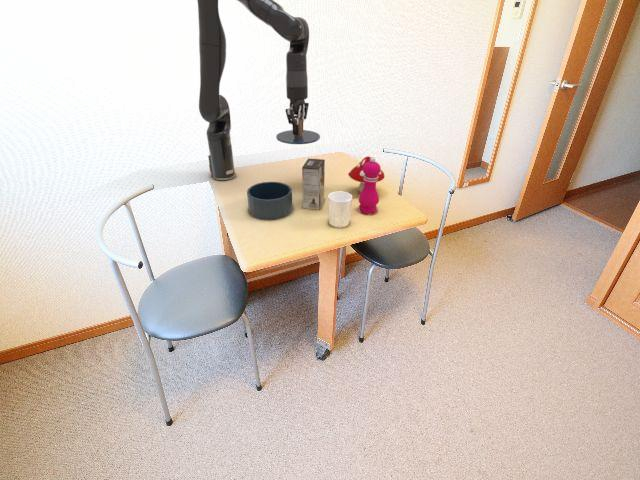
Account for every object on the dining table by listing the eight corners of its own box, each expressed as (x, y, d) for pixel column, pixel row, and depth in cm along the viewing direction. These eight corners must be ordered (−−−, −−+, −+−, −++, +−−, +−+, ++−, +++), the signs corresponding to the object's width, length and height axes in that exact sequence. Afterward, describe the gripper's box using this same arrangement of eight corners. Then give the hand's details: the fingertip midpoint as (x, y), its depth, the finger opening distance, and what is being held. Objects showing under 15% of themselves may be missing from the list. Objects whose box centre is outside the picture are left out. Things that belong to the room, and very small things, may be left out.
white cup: (343, 231, 117) (345, 203, 111) (323, 224, 120) (323, 197, 115) (354, 221, 122) (356, 194, 117) (334, 215, 126) (335, 189, 120)
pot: (254, 223, 120) (252, 203, 116) (245, 203, 133) (242, 185, 128) (298, 215, 125) (297, 196, 121) (284, 197, 138) (284, 179, 133)
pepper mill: (356, 206, 132) (360, 153, 121) (375, 205, 132) (381, 153, 122) (359, 215, 126) (364, 161, 115) (379, 214, 126) (386, 161, 116)
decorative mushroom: (341, 195, 139) (343, 159, 131) (354, 183, 150) (356, 148, 142) (376, 203, 134) (380, 165, 126) (386, 189, 145) (390, 153, 137)
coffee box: (308, 197, 137) (307, 157, 129) (324, 199, 136) (325, 159, 128) (302, 208, 130) (301, 166, 121) (319, 210, 129) (320, 168, 120)
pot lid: (283, 148, 126) (282, 127, 122) (271, 135, 139) (270, 116, 135) (326, 143, 131) (327, 123, 127) (311, 131, 144) (311, 112, 140)
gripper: (297, 80, 131) (298, 127, 140) (277, 86, 120) (279, 136, 130) (315, 82, 128) (315, 130, 138) (296, 88, 118) (297, 139, 127)
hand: (298, 133), depth 134 cm, fingers closed on pot lid, 3 cm apart
